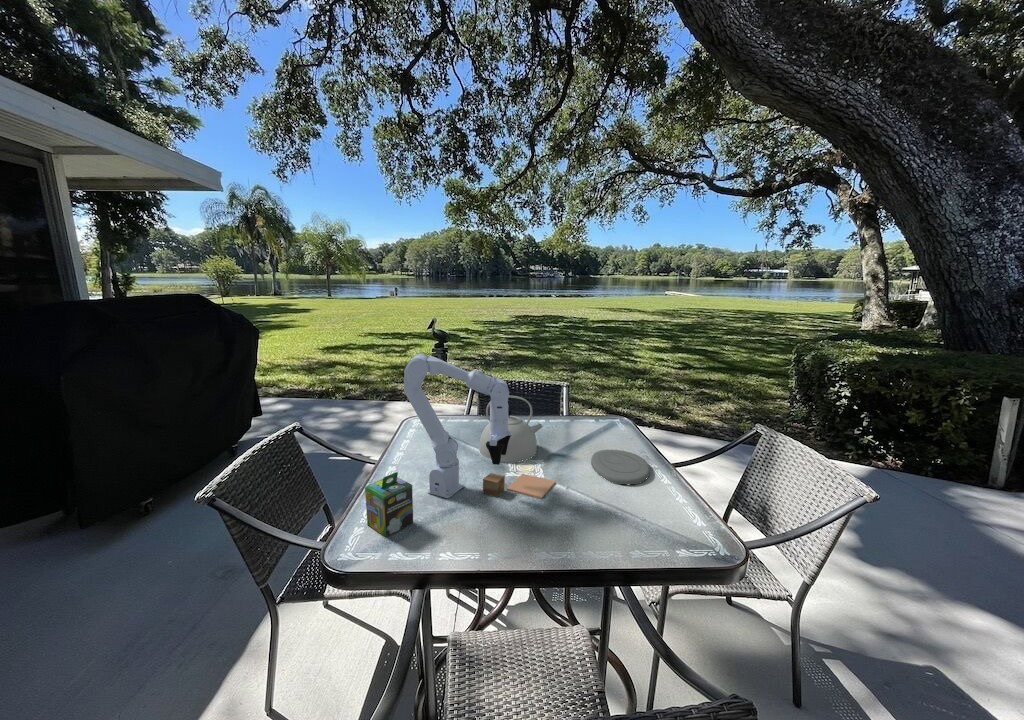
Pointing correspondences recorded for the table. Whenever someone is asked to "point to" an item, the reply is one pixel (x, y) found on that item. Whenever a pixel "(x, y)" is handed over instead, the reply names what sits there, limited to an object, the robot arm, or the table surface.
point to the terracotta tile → (531, 486)
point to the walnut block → (493, 484)
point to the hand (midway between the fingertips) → (499, 459)
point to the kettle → (514, 437)
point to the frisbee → (620, 466)
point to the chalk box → (389, 505)
